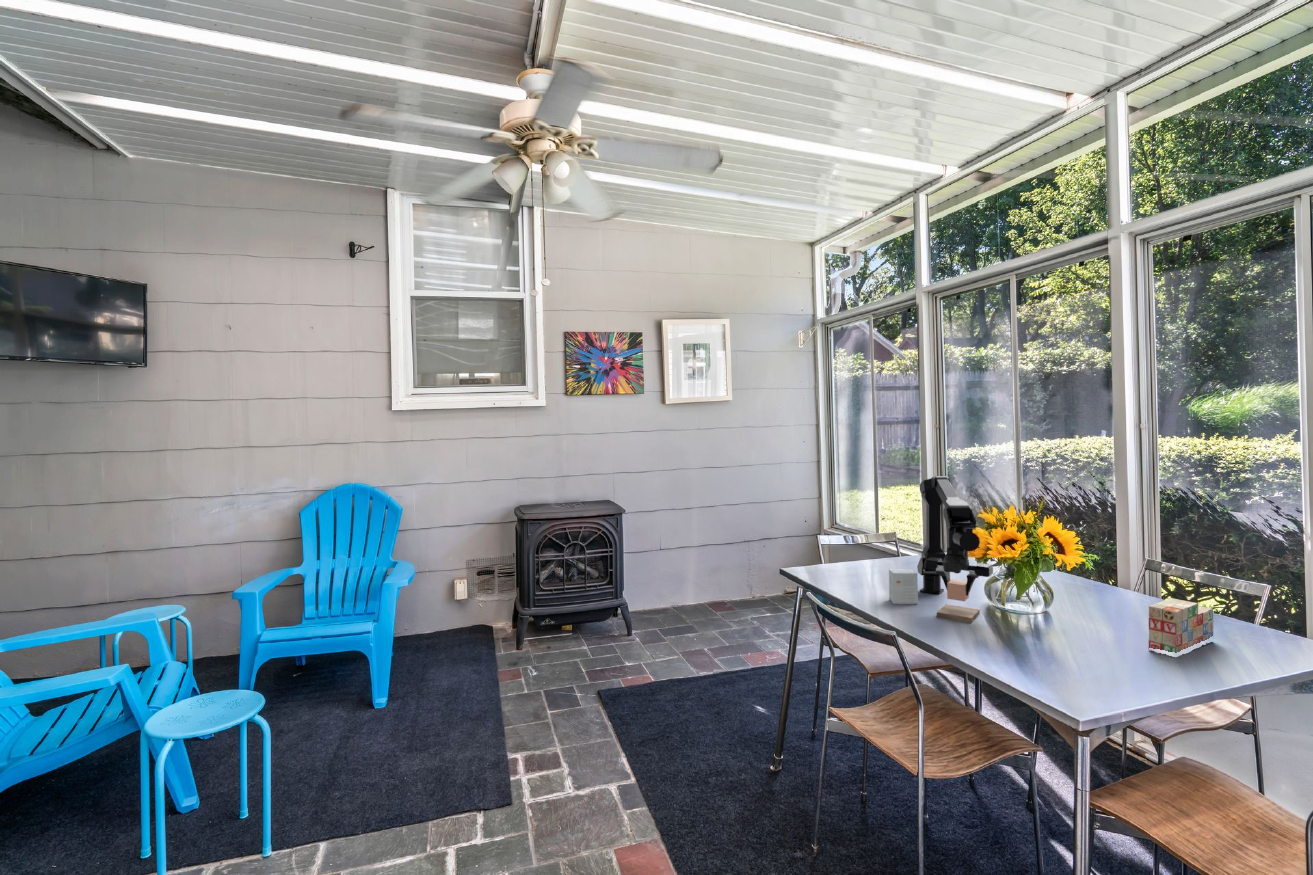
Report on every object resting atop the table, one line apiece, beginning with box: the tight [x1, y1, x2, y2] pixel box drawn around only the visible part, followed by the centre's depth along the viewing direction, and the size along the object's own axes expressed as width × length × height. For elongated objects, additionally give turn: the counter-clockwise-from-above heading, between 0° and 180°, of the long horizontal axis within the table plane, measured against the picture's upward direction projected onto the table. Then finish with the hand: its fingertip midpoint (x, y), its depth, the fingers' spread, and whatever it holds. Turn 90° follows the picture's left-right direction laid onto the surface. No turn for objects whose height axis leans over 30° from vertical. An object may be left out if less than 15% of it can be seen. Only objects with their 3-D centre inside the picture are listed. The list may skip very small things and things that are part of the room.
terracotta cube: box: [946, 578, 970, 602], centre depth 202 cm, size 5×5×5 cm
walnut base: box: [936, 604, 981, 624], centre depth 202 cm, size 10×10×2 cm
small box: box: [888, 568, 919, 605], centre depth 217 cm, size 8×6×10 cm
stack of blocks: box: [1148, 597, 1214, 653], centre depth 172 cm, size 21×6×12 cm, turn 120°
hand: (958, 594), depth 202 cm, fingers closed on terracotta cube, 5 cm apart
